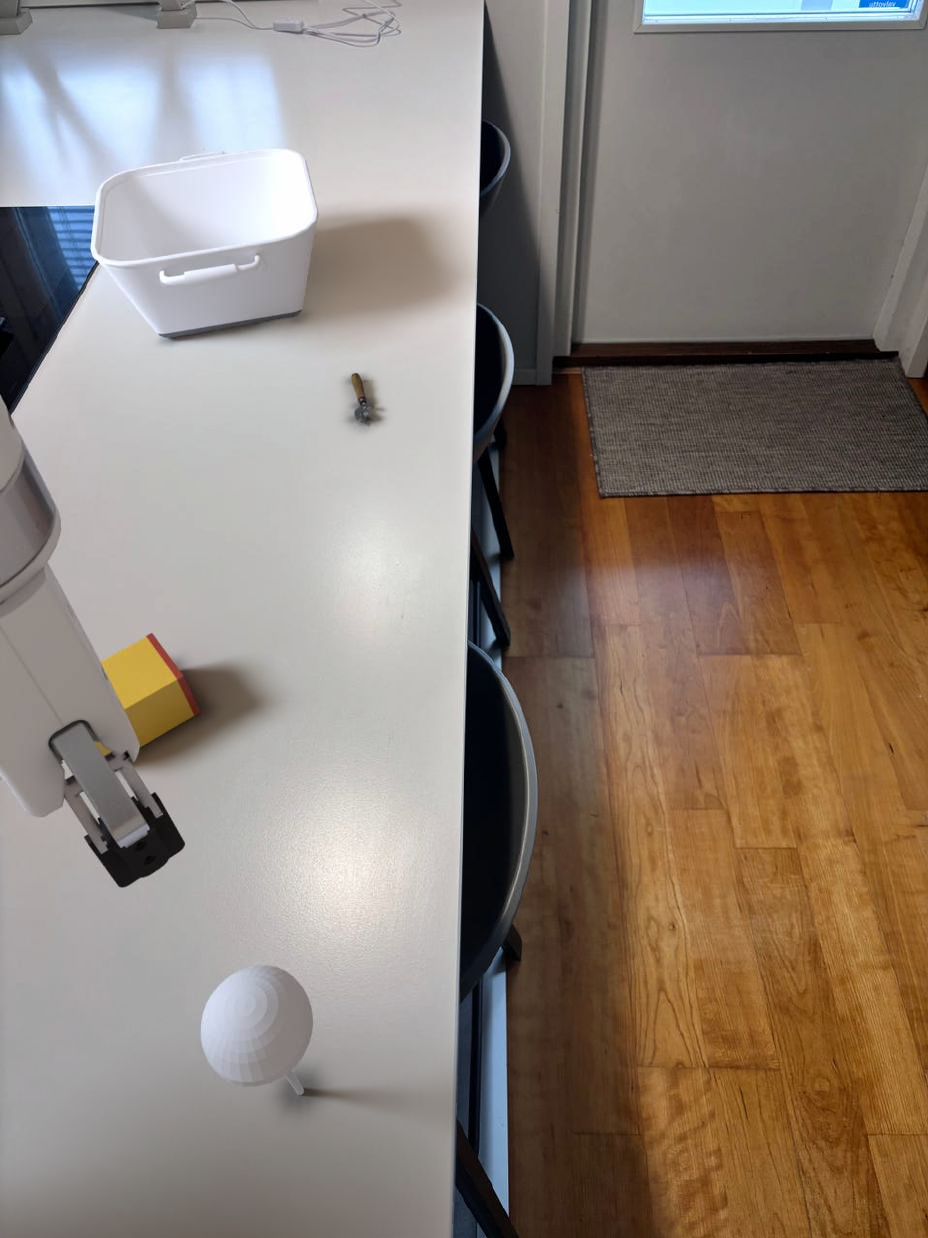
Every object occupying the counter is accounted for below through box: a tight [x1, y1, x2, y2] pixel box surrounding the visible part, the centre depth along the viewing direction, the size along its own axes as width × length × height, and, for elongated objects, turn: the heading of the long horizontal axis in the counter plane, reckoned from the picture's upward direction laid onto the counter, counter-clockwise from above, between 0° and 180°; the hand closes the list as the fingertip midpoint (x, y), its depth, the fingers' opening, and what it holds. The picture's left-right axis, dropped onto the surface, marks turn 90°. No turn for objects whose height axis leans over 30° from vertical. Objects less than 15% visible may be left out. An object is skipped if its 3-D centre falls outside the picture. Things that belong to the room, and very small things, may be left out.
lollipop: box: [200, 964, 314, 1096], centre depth 54 cm, size 6×6×15 cm
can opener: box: [350, 372, 375, 424], centre depth 108 cm, size 9×2×1 cm, turn 7°
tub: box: [90, 147, 320, 339], centre depth 121 cm, size 34×27×13 cm
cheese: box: [94, 632, 201, 756], centre depth 78 cm, size 9×6×5 cm
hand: (105, 791), depth 44 cm, fingers open, 9 cm apart
